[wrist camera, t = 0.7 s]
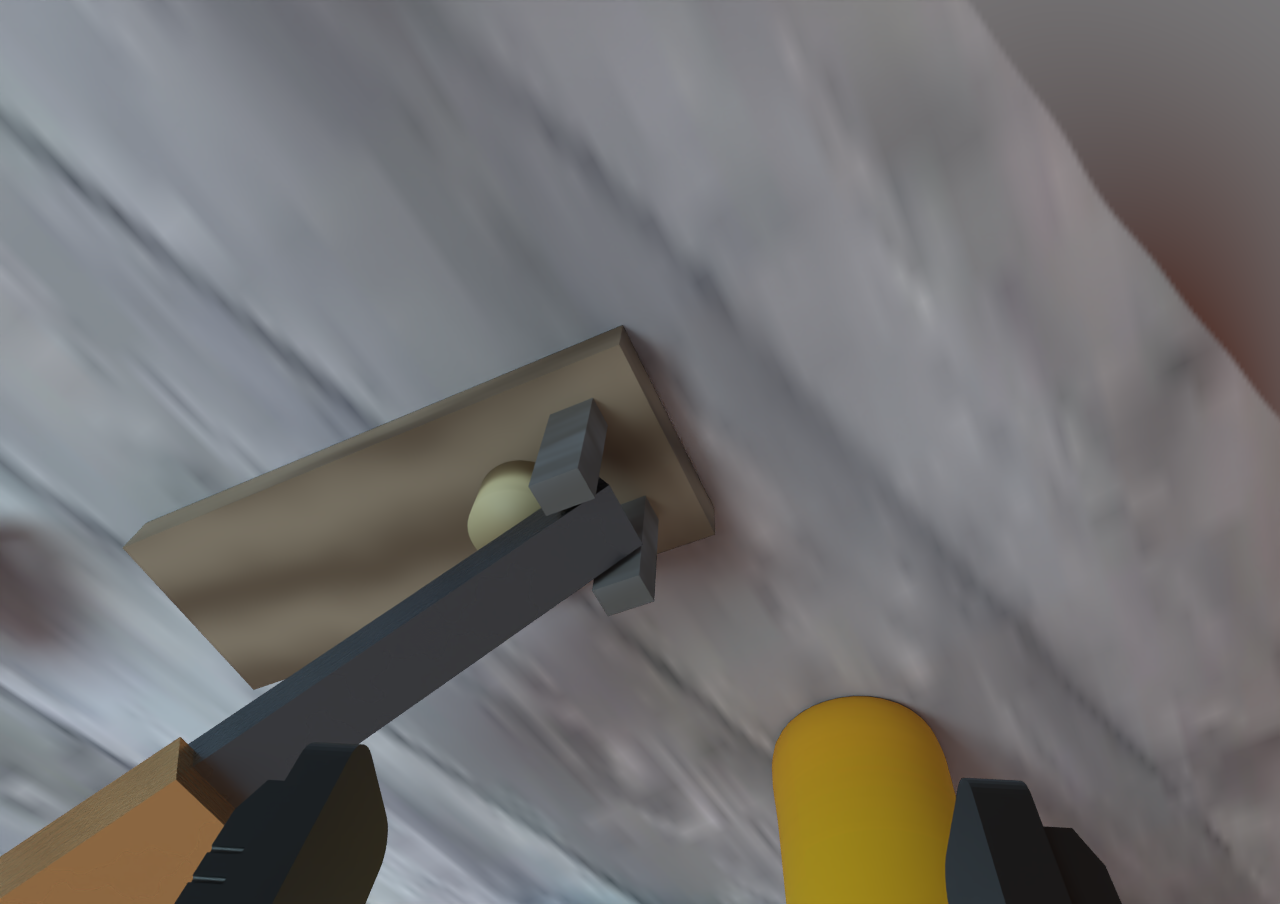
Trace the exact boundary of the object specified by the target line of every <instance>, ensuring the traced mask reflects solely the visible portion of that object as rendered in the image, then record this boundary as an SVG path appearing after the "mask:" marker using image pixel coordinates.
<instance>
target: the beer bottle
mask: <svg viewBox="0 0 1280 904" xmlns="http://www.w3.org/2000/svg"><path fill="white" fill-rule="evenodd" d="M772 777H773V790H774V797H775V804H776V811H777V818H778V826H779V835H780V845H781V855H782V865H783V875H784V885H785V895H786V904H948V899H947V891H946V879H945V860H946V852H947V846H948V841H949V835H950V829H951V824H952V818H953V812H954V807H955V801H956V795H955V792H954V788H953V784H952V780H951V777H950V773H949V769H948V765H947V762H946V758H945V756H944V753H943V751H942V748H941V746H940V744H939V742H938V740H937V738H936V736H935V734H934V733H933V731H932V730H931V728H930V727H929V726H928V725H927V723H926V722H925V721H924V720H923V719H922V718H921V717H920V716H918V715H917V714H916V713H914V712H913V711H912V710H910V709H908V708H906V707H904V706H902V705H900V704H898V703H895V702H892V701H889V700H886V699H882V698H875V697H868V696H851V697H842V698H837V699H832V700H828V701H825V702H822V703H820V704H817V705H814V706H812V707H810V708H809V709H807V710H805V711H803V712H802V713H800V714H799V715H798V716H796V717H795V718H794V719H793V720H792V721H790V722H789V723H788V725H787V726H786V727H785V728H784V730H783V731H782V733H781V735H780V737H779V738H778V740H777V742H776V745H775V749H774V754H773V760H772Z"/></svg>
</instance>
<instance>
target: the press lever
mask: <svg viewBox="0 0 1280 904" xmlns="http://www.w3.org/2000/svg"><path fill="white" fill-rule="evenodd" d="M641 545H643V544H642V542H641V541H640V539H639V537H638V535H637V533H636V532H635V530H634V528H633V526H632V524H631V523H630V521H629V519H628V517H627V516H626V514H625V512H624V510H623V508H622V507H621V505H620V503H619V501H618V499H617V498H616V496H615V494H614V492H613V490H612V489H611V487H610V485H609V484H608V483H606V482H605V481H604V480H603V479H601V478H600V477H599V479H598V484H597V490H596V496H595V499H592V500H589V501H586V502H584V503H581V504H578V505H575V506H573V507H570V508H567V509H564V510H562V511H559V512H556V513H553V514H551V515H548V516H546V515H545V513H544V511H543V510H542V508H540V509H539V510H537V511H536V512H534V513H533V514H531V515H530V516H528V517H527V518H525V519H524V520H522V521H521V522H519V523H518V524H516V525H515V526H514V527H512V528H511V529H509V530H508V531H506V532H505V533H503V534H502V535H500V536H499V537H497V538H496V539H494V540H493V541H491V542H490V543H488V544H487V545H485V546H484V547H482V548H481V549H479V550H478V551H476V552H475V553H473V554H472V555H470V556H469V557H467V558H466V559H464V560H463V561H461V562H460V563H458V564H457V565H455V566H454V567H452V568H451V569H449V570H448V571H446V572H445V573H443V574H442V575H440V576H439V577H437V578H436V579H434V580H433V581H431V582H430V583H428V584H427V585H425V586H424V587H422V588H421V589H419V590H418V591H416V592H415V593H413V594H412V595H410V596H409V597H408V598H406V599H405V600H403V601H402V602H400V603H399V604H397V605H396V606H394V607H393V608H391V609H390V610H388V611H387V612H385V613H384V614H382V615H381V616H379V617H378V618H376V619H375V620H373V621H372V622H370V623H369V624H367V625H366V626H364V627H363V628H361V629H360V630H358V631H357V632H355V633H354V634H352V635H351V636H349V637H348V638H346V639H345V640H343V641H342V642H340V643H339V644H337V645H336V646H334V647H333V648H331V649H330V650H328V651H327V652H325V653H324V654H322V655H321V656H319V657H318V658H316V659H315V660H313V661H312V662H310V663H309V664H307V665H306V666H304V667H303V668H302V669H300V670H299V671H297V672H296V673H294V674H293V675H291V676H290V677H288V678H287V679H285V680H284V681H282V682H281V683H279V684H278V685H276V686H275V687H273V688H272V689H270V690H269V691H267V692H266V693H264V694H263V695H261V696H260V697H258V698H257V699H255V700H254V701H252V702H251V703H249V704H248V705H246V706H245V707H243V708H242V709H240V710H239V711H237V712H236V713H234V714H233V715H231V716H230V717H228V718H227V719H225V720H224V721H222V722H221V723H219V724H218V725H216V726H215V727H213V728H212V729H210V730H209V731H207V732H206V733H204V734H203V735H201V736H200V737H198V738H197V739H196V740H194V741H193V742H191V743H190V744H187V743H186V742H185V741H184V740H183V739H182V738H181V737H179V738H178V739H176V740H175V741H173V742H172V743H170V744H169V745H167V746H166V747H164V748H163V749H161V750H160V751H158V752H157V753H155V754H154V755H152V756H151V757H149V758H148V759H146V760H145V761H143V762H142V763H140V764H139V765H137V766H136V767H134V768H133V769H131V770H130V771H128V772H127V773H125V774H124V775H122V776H121V777H119V778H118V779H116V780H115V781H113V782H112V783H110V784H109V785H107V786H106V787H104V788H103V789H101V790H100V791H98V792H97V793H95V794H94V795H92V796H91V797H89V798H88V799H86V800H85V801H83V802H82V803H80V804H79V805H77V806H76V807H74V808H73V809H71V810H70V811H68V812H67V813H65V814H64V815H62V816H61V817H59V818H58V819H56V820H55V821H53V822H52V823H50V824H49V825H47V826H46V827H44V828H43V829H41V830H40V831H38V832H37V833H35V834H34V835H32V836H31V837H29V838H28V839H26V840H25V841H23V842H22V843H20V844H19V845H17V846H16V847H14V848H13V849H11V850H10V851H8V852H7V853H5V854H4V855H2V856H1V857H0V904H174V903H175V902H176V900H177V898H178V897H179V895H180V894H181V892H182V891H183V889H184V888H185V886H186V884H187V883H188V882H191V881H192V879H193V873H194V872H195V870H196V869H197V867H198V866H199V864H200V863H201V861H202V859H203V858H204V856H205V855H206V853H207V852H210V851H211V849H212V844H213V842H214V841H215V839H216V838H217V836H218V834H219V833H220V831H221V830H222V828H223V827H224V825H225V823H226V822H227V820H228V819H229V817H230V816H231V814H232V813H233V811H234V810H235V809H236V808H237V807H238V806H239V805H240V804H241V803H242V802H244V801H245V800H246V799H247V798H248V797H249V796H250V795H251V794H253V793H254V792H255V791H256V790H257V789H258V788H259V787H261V786H262V785H263V784H264V783H265V782H266V781H267V780H281V781H285V779H286V777H287V776H288V774H289V772H290V771H291V769H292V767H293V766H294V764H295V762H296V761H297V759H298V757H299V756H300V754H301V753H302V751H303V750H304V748H305V747H306V746H307V745H309V744H310V743H312V742H324V743H343V744H359V743H361V742H362V741H363V740H365V739H366V738H368V737H369V736H371V735H372V734H373V733H375V732H376V731H378V730H379V729H381V728H382V727H383V726H385V725H386V724H388V723H389V722H390V721H392V720H393V719H395V718H396V717H398V716H399V715H400V714H402V713H403V712H405V711H406V710H408V709H409V708H410V707H412V706H413V705H415V704H416V703H418V702H419V701H420V700H422V699H423V698H425V697H426V696H428V695H429V694H430V693H432V692H433V691H435V690H436V689H438V688H439V687H440V686H442V685H443V684H445V683H446V682H447V681H449V680H450V679H452V678H453V677H455V676H456V675H457V674H459V673H460V672H462V671H463V670H465V669H466V668H467V667H469V666H470V665H472V664H473V663H475V662H476V661H477V660H479V659H480V658H482V657H483V656H485V655H486V654H487V653H489V652H490V651H492V650H493V649H495V648H496V647H497V646H499V645H500V644H502V643H503V642H504V641H506V640H507V639H509V638H510V637H512V636H513V635H514V634H516V633H517V632H519V631H520V630H522V629H523V628H524V627H526V626H527V625H529V624H530V623H532V622H533V621H534V620H536V619H537V618H539V617H540V616H542V615H543V614H544V613H546V612H547V611H549V610H550V609H552V608H553V607H554V606H556V605H557V604H559V603H560V602H561V601H563V600H564V599H566V598H567V597H569V596H570V595H571V594H573V593H574V592H576V591H577V590H579V589H580V588H581V587H583V586H584V585H586V584H587V583H589V582H590V581H591V580H593V579H594V578H596V577H597V576H599V575H600V574H601V573H603V572H604V571H606V570H607V569H609V568H610V567H611V566H613V565H614V564H616V563H617V562H618V561H620V560H621V559H623V558H624V557H626V556H627V555H628V554H630V553H631V552H633V551H634V550H636V549H637V548H638V547H640V546H641Z"/></svg>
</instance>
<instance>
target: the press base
mask: <svg viewBox="0 0 1280 904" xmlns="http://www.w3.org/2000/svg"><path fill="white" fill-rule="evenodd" d="M599 477H600V478H601V479H603V480H604V481H605V482H606V483H608V484H609V485H610V487H611V489H612V490H613V492H614V494H615V496H616V498H617V499H618V501H619V503H620V505H621V507H622V508H623V510H624V512H625V514H626V516H627V517H628V519H629V521H630V523H631V524H632V526H633V528H634V530H635V532H636V533H637V535H638V537H639V539H640V541H641V542H642V544H643V545H641V546H640V547H638V548H637V549H636V550H634V551H633V552H631V553H630V554H628V555H627V556H626V557H624V558H623V559H621V560H620V561H618V562H617V563H616V564H614V565H613V566H611V567H610V568H609V569H607V570H606V571H604V572H603V573H601V574H600V575H599V576H597V577H596V578H594V582H593V589H592V591H593V593H594V594H595V596H596V598H597V599H598V601H599V602H600V604H601V606H602V607H603V609H604V611H605V612H606V614H607V615H608V616H610V615H613V614H616V613H620V612H623V611H626V610H629V609H632V608H635V607H638V606H641V605H644V604H648V603H651V602H654V596H655V578H656V560H657V554H659V553H662V552H665V551H667V550H670V549H673V548H676V547H679V546H682V545H685V544H688V543H691V542H694V541H697V540H700V539H703V538H706V537H709V536H712V535H715V520H714V508H713V506H712V504H711V502H710V500H709V498H708V496H707V494H706V492H705V490H704V488H703V486H702V484H701V482H700V480H699V478H698V476H697V474H696V472H695V470H694V468H693V466H692V464H691V462H690V460H689V458H688V456H687V454H686V452H685V450H684V448H683V446H682V444H681V442H680V440H679V438H678V436H677V434H676V432H675V430H674V428H673V426H672V424H671V422H670V420H669V418H668V416H667V414H666V412H665V410H664V407H663V405H662V403H661V401H660V399H659V397H658V395H657V393H656V391H655V389H654V387H653V385H652V383H651V381H650V379H649V377H648V375H647V373H646V371H645V369H644V367H643V365H642V363H641V361H640V359H639V357H638V355H637V353H636V351H635V349H634V347H633V345H632V343H631V341H630V339H629V337H628V335H627V333H626V331H625V329H624V327H623V325H622V326H619V327H617V328H615V329H612V330H610V331H607V332H605V333H602V334H600V335H598V336H595V337H593V338H590V339H588V340H586V341H583V342H581V343H578V344H576V345H574V346H571V347H569V348H566V349H564V350H562V351H559V352H557V353H554V354H552V355H550V356H547V357H545V358H542V359H540V360H537V361H535V362H533V363H530V364H528V365H525V366H523V367H521V368H518V369H516V370H513V371H511V372H509V373H506V374H504V375H501V376H499V377H497V378H494V379H492V380H489V381H487V382H485V383H482V384H480V385H477V386H475V387H472V388H470V389H468V390H465V391H463V392H460V393H458V394H456V395H453V396H451V397H448V398H446V399H444V400H441V401H439V402H436V403H434V404H432V405H429V406H427V407H424V408H422V409H420V410H417V411H415V412H412V413H410V414H407V415H405V416H403V417H400V418H398V419H395V420H393V421H391V422H388V423H386V424H383V425H381V426H379V427H376V428H374V429H371V430H369V431H367V432H364V433H362V434H359V435H357V436H355V437H352V438H350V439H347V440H345V441H343V442H340V443H338V444H335V445H333V446H330V447H328V448H326V449H323V450H321V451H318V452H316V453H314V454H311V455H309V456H306V457H304V458H302V459H299V460H297V461H294V462H292V463H290V464H287V465H285V466H282V467H280V468H278V469H275V470H273V471H270V472H268V473H265V474H263V475H261V476H258V477H256V478H253V479H251V480H249V481H246V482H244V483H241V484H239V485H237V486H234V487H232V488H229V489H227V490H225V491H222V492H220V493H217V494H215V495H213V496H210V497H208V498H205V499H203V500H200V501H198V502H196V503H193V504H191V505H188V506H186V507H184V508H181V509H179V510H176V511H174V512H172V513H169V514H167V515H164V516H162V517H160V518H157V519H155V520H152V521H150V522H148V523H146V524H145V525H144V526H143V527H142V528H141V529H140V530H139V531H138V532H137V533H136V534H135V535H134V536H133V537H132V538H131V539H130V540H129V541H128V542H127V544H126V545H125V546H124V547H123V549H124V550H125V551H126V552H127V553H128V554H129V555H130V556H131V558H132V559H133V560H134V561H135V562H136V563H137V564H138V565H139V566H140V567H141V568H142V569H143V571H144V572H145V573H146V574H147V575H148V576H149V577H150V578H151V579H152V580H153V581H154V582H155V584H156V585H157V586H158V587H159V588H160V589H161V590H162V591H163V592H164V593H165V594H166V595H167V597H168V598H169V599H170V600H171V601H172V602H173V603H174V604H175V605H176V606H177V607H178V608H179V610H180V611H181V612H182V613H183V614H184V615H185V616H186V617H187V618H188V619H189V620H190V621H191V623H192V624H193V625H194V626H195V627H196V628H197V629H198V630H199V631H200V632H201V633H202V634H203V636H204V637H205V638H206V639H207V640H208V641H209V642H210V643H211V644H212V645H213V646H214V647H215V648H216V650H217V651H218V652H219V653H220V654H221V655H222V656H223V657H224V658H225V659H226V660H227V661H228V663H229V664H230V665H231V666H232V667H233V668H234V669H235V670H236V671H237V672H238V673H239V674H240V676H241V677H242V678H243V679H244V680H245V681H246V682H247V683H248V684H249V685H250V686H251V687H252V689H253V690H254V689H257V688H260V687H263V686H266V685H269V684H272V683H275V682H278V681H281V680H284V679H287V678H288V677H290V676H291V675H293V674H294V673H296V672H297V671H299V670H300V669H302V668H303V667H304V666H306V665H307V664H309V663H310V662H312V661H313V660H315V659H316V658H318V657H319V656H321V655H322V654H324V653H325V652H327V651H328V650H330V649H331V648H333V647H334V646H336V645H337V644H339V643H340V642H342V641H343V640H345V639H346V638H348V637H349V636H351V635H352V634H354V633H355V632H357V631H358V630H360V629H361V628H363V627H364V626H366V625H367V624H369V623H370V622H372V621H373V620H375V619H376V618H378V617H379V616H381V615H382V614H384V613H385V612H387V611H388V610H390V609H391V608H393V607H394V606H396V605H397V604H399V603H400V602H402V601H403V600H405V599H406V598H408V597H409V596H410V595H412V594H413V593H415V592H416V591H418V590H419V589H421V588H422V587H424V586H425V585H427V584H428V583H430V582H431V581H433V580H434V579H436V578H437V577H439V576H440V575H442V574H443V573H445V572H446V571H448V570H449V569H451V568H452V567H454V566H455V565H457V564H458V563H460V562H461V561H463V560H464V559H466V558H467V557H469V556H470V555H472V554H473V553H475V552H476V551H478V550H479V549H481V548H482V547H484V546H485V545H487V544H488V543H490V542H491V541H493V540H494V539H496V538H497V537H499V536H500V535H502V534H503V533H505V532H506V531H508V530H509V529H511V528H512V527H514V526H515V525H516V524H518V523H519V522H521V521H522V520H524V519H525V518H527V517H528V516H530V515H531V514H533V513H534V512H536V511H537V510H539V509H540V508H542V510H543V511H544V513H545V515H546V516H548V515H551V514H553V513H556V512H559V511H562V510H564V509H567V508H570V507H573V506H575V505H578V504H581V503H584V502H586V501H589V500H592V499H595V496H596V490H597V484H598V479H599Z"/></svg>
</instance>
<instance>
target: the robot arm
mask: <svg viewBox="0 0 1280 904" xmlns="http://www.w3.org/2000/svg"><path fill="white" fill-rule="evenodd" d="M387 835H388V823H387V816H386V812H385V808H384V804H383V800H382V796H381V792H380V788H379V784H378V780H377V776H376V772H375V768H374V764H373V759H372V755H371V752H370V750H369V748H368V747H367V746H366V745H362V744H343V743H324V742H312V743H310V744H309V745H307V746H306V747H305V748H304V750H303V751H302V753H301V754H300V756H299V757H298V759H297V761H296V762H295V764H294V766H293V767H292V769H291V771H290V772H289V774H288V776H287V777H286V779H285V781H281V780H267V781H266V782H265V783H264V784H263V785H262V786H261V787H259V788H258V789H257V790H256V791H255V792H254V793H253V794H251V795H250V796H249V797H248V798H247V799H246V800H245V801H244V802H242V803H241V804H240V805H239V806H238V807H237V808H236V809H235V810H234V811H233V813H232V814H231V816H230V817H229V819H228V820H227V822H226V823H225V825H224V827H223V828H222V830H221V831H220V833H219V834H218V836H217V838H216V839H215V841H214V842H213V844H212V849H211V851H210V852H207V853H206V855H205V856H204V858H203V859H202V861H201V863H200V864H199V866H198V867H197V869H196V870H195V872H194V873H193V879H192V881H191V882H188V883H187V884H186V886H185V888H184V889H183V891H182V892H181V894H180V895H179V897H178V898H177V900H176V902H175V903H174V904H365V903H366V901H367V898H368V896H369V894H370V891H371V889H372V887H373V884H374V882H375V879H376V877H377V875H378V872H379V870H380V867H381V865H382V862H383V858H384V855H385V850H386V845H387ZM945 879H946V891H947V899H948V904H1122V903H1121V901H1120V899H1119V896H1118V894H1117V892H1116V890H1115V887H1114V885H1113V883H1112V880H1111V878H1110V876H1109V873H1108V871H1107V869H1106V866H1105V865H1104V864H1103V863H1102V862H1101V861H1100V859H1099V858H1098V857H1097V856H1096V855H1095V854H1094V853H1093V851H1092V850H1091V849H1090V848H1089V847H1088V846H1087V845H1086V844H1085V842H1084V841H1083V840H1082V839H1081V838H1080V837H1079V836H1078V834H1077V833H1076V832H1075V831H1074V830H1073V829H1072V828H1059V827H1043V825H1042V822H1041V820H1040V817H1039V814H1038V812H1037V809H1036V806H1035V804H1034V801H1033V798H1032V796H1031V793H1030V791H1029V789H1028V787H1027V785H1026V784H1025V783H1024V782H1022V781H1015V780H996V779H976V778H962V779H961V780H960V782H959V785H958V790H957V795H956V801H955V807H954V812H953V818H952V824H951V829H950V835H949V841H948V846H947V852H946V860H945Z"/></svg>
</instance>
